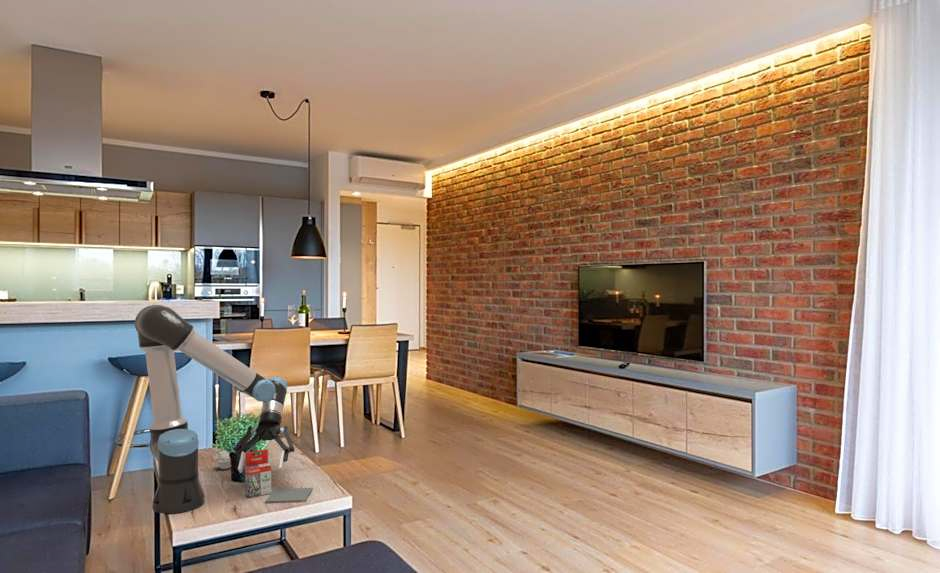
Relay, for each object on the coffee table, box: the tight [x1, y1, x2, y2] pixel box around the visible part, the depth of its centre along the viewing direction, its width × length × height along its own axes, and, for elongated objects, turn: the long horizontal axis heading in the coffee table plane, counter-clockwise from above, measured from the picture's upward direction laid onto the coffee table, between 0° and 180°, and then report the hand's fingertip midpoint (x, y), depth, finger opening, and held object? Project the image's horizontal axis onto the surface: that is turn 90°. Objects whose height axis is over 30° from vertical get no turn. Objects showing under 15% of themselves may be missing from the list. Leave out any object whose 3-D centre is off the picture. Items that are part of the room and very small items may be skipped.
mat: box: [264, 487, 314, 504], centre depth 203 cm, size 13×12×1 cm
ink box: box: [244, 448, 272, 499], centre depth 205 cm, size 4×8×15 cm, turn 123°
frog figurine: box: [214, 450, 231, 470], centre depth 234 cm, size 6×7×7 cm
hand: (260, 470), depth 205 cm, fingers open, 13 cm apart
